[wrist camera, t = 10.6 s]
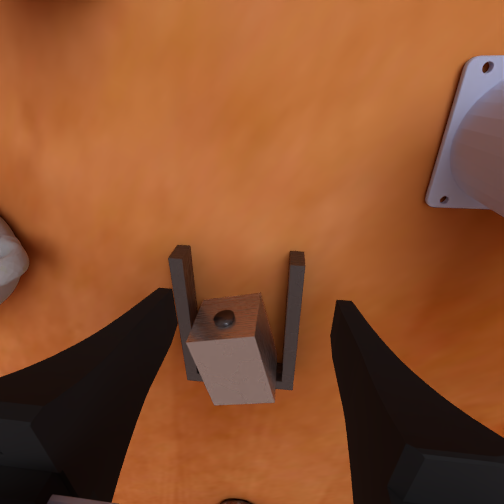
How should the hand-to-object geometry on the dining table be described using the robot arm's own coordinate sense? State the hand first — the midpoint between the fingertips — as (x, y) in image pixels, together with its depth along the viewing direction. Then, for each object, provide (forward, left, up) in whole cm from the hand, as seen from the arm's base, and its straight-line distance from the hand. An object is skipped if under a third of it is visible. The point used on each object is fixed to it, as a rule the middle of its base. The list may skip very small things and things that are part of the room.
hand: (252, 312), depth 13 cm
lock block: (+2, +10, -10) cm, 14 cm away
